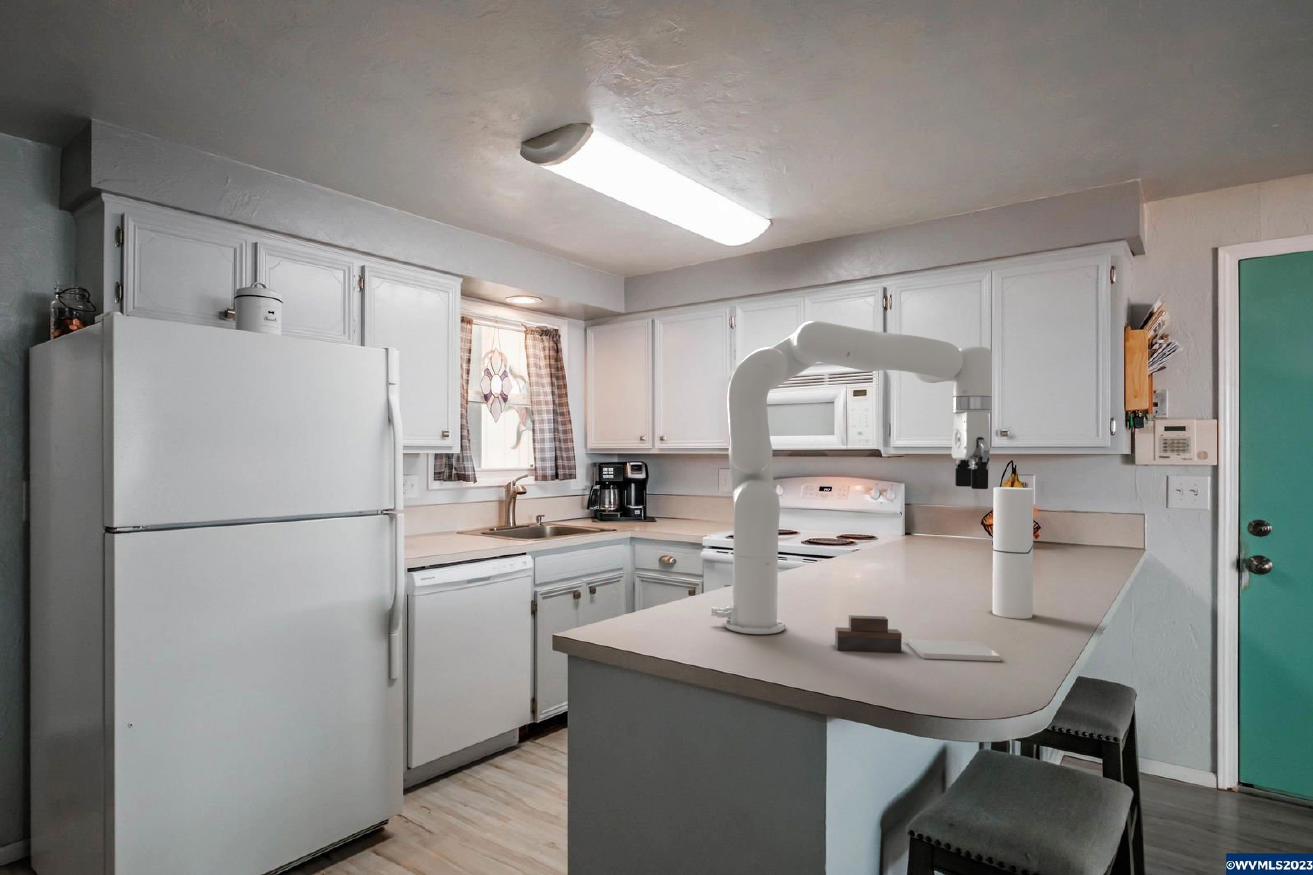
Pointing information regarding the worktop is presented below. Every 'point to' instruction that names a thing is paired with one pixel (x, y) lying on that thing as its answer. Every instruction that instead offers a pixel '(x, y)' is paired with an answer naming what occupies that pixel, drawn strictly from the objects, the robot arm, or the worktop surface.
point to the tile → (953, 650)
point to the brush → (868, 635)
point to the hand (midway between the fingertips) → (971, 487)
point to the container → (1013, 552)
